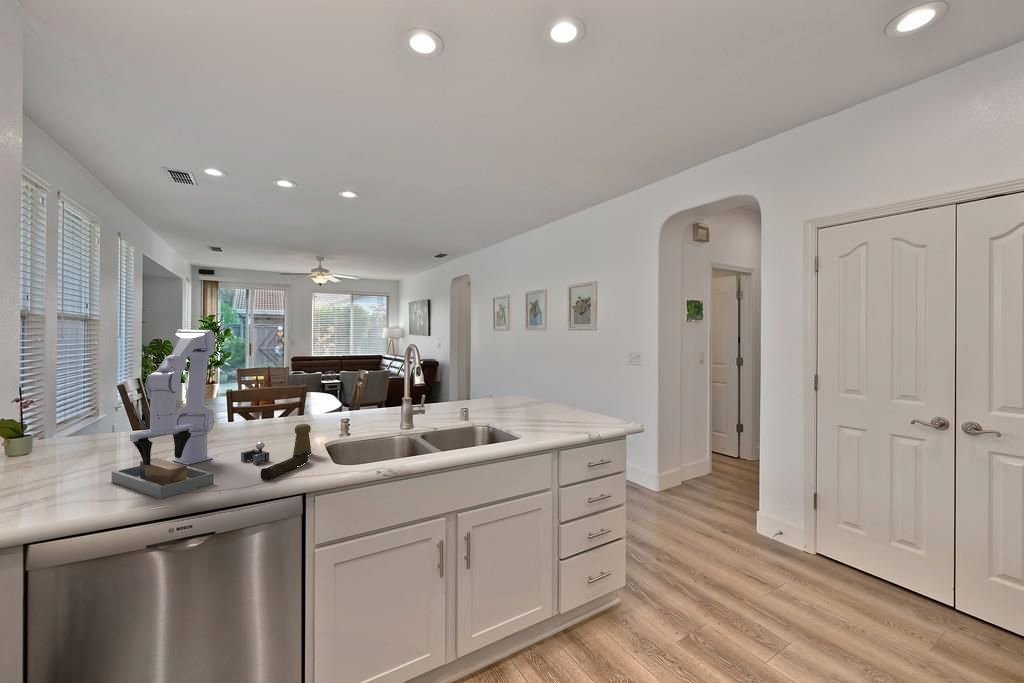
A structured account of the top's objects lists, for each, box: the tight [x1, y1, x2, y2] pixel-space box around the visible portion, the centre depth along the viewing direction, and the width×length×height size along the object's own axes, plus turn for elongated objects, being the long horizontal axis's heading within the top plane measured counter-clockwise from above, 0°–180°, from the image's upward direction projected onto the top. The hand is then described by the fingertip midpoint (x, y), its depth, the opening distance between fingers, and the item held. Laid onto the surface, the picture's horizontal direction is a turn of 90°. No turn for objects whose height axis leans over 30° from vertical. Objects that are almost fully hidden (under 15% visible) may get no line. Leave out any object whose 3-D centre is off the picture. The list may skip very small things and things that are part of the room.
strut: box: [139, 457, 188, 486], centre depth 122 cm, size 4×16×5 cm, turn 64°
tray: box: [111, 460, 215, 500], centre depth 122 cm, size 26×13×3 cm, turn 64°
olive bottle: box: [292, 423, 312, 456], centre depth 152 cm, size 6×6×11 cm
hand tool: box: [260, 451, 309, 481], centre depth 135 cm, size 19×4×5 cm, turn 166°
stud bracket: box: [240, 441, 270, 465], centre depth 144 cm, size 8×5×6 cm, turn 64°
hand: (162, 460), depth 122 cm, fingers open, 7 cm apart
